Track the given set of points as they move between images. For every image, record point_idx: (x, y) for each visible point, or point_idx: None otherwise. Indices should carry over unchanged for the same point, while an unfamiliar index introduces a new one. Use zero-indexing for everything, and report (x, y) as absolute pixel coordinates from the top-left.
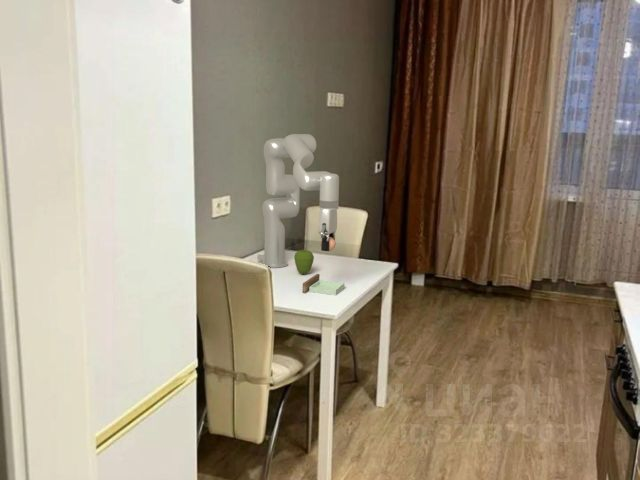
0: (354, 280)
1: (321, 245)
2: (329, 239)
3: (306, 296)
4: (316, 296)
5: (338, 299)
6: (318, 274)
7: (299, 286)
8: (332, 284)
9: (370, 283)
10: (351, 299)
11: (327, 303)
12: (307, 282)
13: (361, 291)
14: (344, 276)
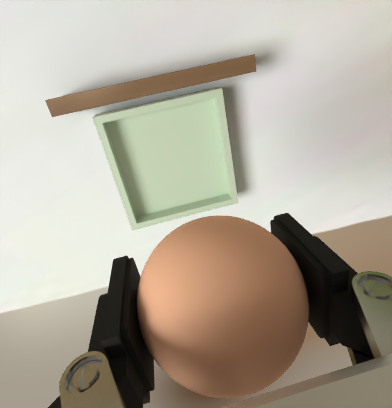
0: (340, 169)
1: (109, 292)
2: (195, 390)
3: (34, 142)
4: (68, 175)
5: (100, 251)
6: (248, 69)
7: (138, 12)
8: (223, 155)
9: (325, 228)
10: None
11: (32, 251)
12: (81, 110)
13: None
14: (381, 106)
